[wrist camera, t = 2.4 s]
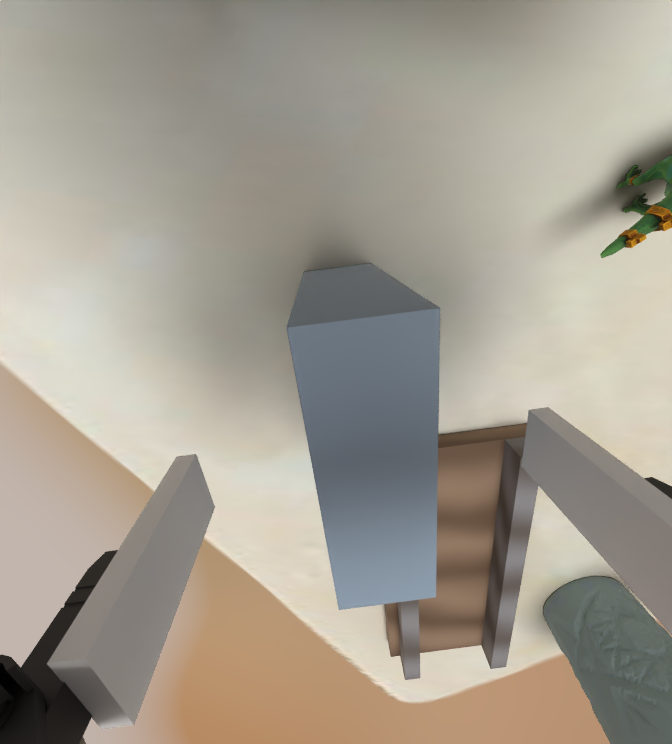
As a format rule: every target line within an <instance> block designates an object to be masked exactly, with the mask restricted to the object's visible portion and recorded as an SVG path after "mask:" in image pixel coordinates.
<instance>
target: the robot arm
mask: <svg viewBox="0 0 672 744" xmlns="http://www.w3.org/2000/svg"><path fill="white" fill-rule="evenodd" d="M522 467H523V468H524V470H525V471H526V472H527V473H528V474H529V475H530V476H531V477H532V479H533V480H534V481H535V482H536V483H537V484H538V485H539V486H540V488H541V489H542V490H543V491H544V492H545V493H546V494H547V495H548V497H549V498H550V499H551V500H552V501H553V502H554V503H555V504H556V506H557V507H558V508H559V509H560V510H561V511H562V512H563V513H564V515H565V516H566V517H567V518H568V519H569V520H570V521H571V522H572V524H573V525H574V526H575V527H576V528H577V529H578V530H579V531H580V533H581V534H582V535H583V536H584V537H585V538H586V539H587V540H588V542H589V543H590V544H591V545H592V546H593V547H594V548H595V549H596V551H597V552H598V553H599V554H600V555H601V556H602V557H603V558H604V560H605V561H606V562H607V563H608V564H609V565H610V566H611V567H612V569H613V570H614V571H615V572H616V573H617V574H618V575H619V576H620V578H621V579H622V580H623V581H624V582H625V583H626V584H627V585H628V587H629V588H630V589H631V590H632V591H633V592H634V593H635V594H636V596H637V597H638V598H639V599H640V600H641V601H642V602H643V603H644V605H645V606H646V607H647V608H648V609H649V610H650V611H651V612H652V614H653V615H654V616H655V617H656V618H657V619H658V620H659V621H660V623H661V624H662V625H663V626H664V627H665V628H666V629H667V630H668V632H669V633H670V634H671V635H672V486H670V485H667V484H665V483H663V482H661V481H659V480H657V479H655V478H653V477H650V478H643V477H641V476H640V475H639V474H637V473H636V472H634V471H633V470H632V469H630V468H629V467H628V466H626V465H625V464H624V463H622V462H621V461H620V460H618V459H617V458H616V457H614V456H613V455H612V454H610V453H609V452H608V451H606V450H605V449H604V448H602V447H601V446H600V445H598V444H597V443H595V442H594V441H593V440H591V439H590V438H589V437H587V436H586V435H585V434H583V433H582V432H581V431H579V430H578V429H577V428H575V427H574V426H573V425H571V424H570V423H569V422H567V421H566V420H565V419H563V418H562V417H560V416H559V415H558V414H556V413H555V412H554V411H552V410H551V409H550V408H548V407H547V408H540V409H532V410H529V413H528V421H527V428H526V436H525V443H524V451H523V458H522ZM214 508H215V506H214V503H213V500H212V498H211V495H210V492H209V489H208V486H207V483H206V481H205V478H204V475H203V472H202V469H201V466H200V464H199V461H198V458H197V455H196V454H194V455H186V456H179V457H176V459H175V460H174V462H173V463H172V465H171V467H170V468H169V470H168V471H167V473H166V475H165V476H164V478H163V479H162V481H161V482H160V484H159V486H158V487H157V489H156V490H155V492H154V494H153V495H152V497H151V498H150V500H149V502H148V503H147V505H146V507H145V508H144V510H143V511H142V513H141V514H140V516H139V518H138V519H137V521H136V522H135V524H134V526H133V527H132V529H131V530H130V532H129V534H128V535H127V537H126V538H125V540H124V542H123V543H122V545H121V546H120V548H119V550H116V551H108V552H105V554H103V555H102V556H101V557H100V558H99V559H98V560H97V561H96V562H95V563H94V564H93V565H92V566H91V567H90V568H89V569H88V570H87V572H86V573H85V575H84V576H83V577H82V579H81V580H80V582H79V583H78V585H77V586H76V590H75V591H74V592H72V593H71V595H70V596H69V598H68V599H67V601H66V602H65V606H64V608H61V610H60V611H59V613H58V614H57V615H56V617H55V618H54V620H53V621H52V623H51V624H50V626H49V628H48V629H47V630H46V632H45V633H44V635H43V636H42V637H41V639H40V640H39V642H38V644H37V645H36V646H35V648H34V649H33V651H32V652H31V654H30V655H29V657H28V658H27V659H26V661H25V662H24V664H23V665H22V667H21V668H20V667H19V665H18V664H17V663H16V662H15V661H14V660H13V659H12V658H11V657H9V656H5V655H0V744H86V743H85V741H84V738H83V734H84V732H85V730H86V728H87V726H88V724H89V721H90V719H91V717H92V718H93V720H94V721H95V722H96V723H97V724H98V726H99V727H100V728H101V729H108V728H116V727H123V726H130V725H134V724H135V721H136V719H137V716H138V713H139V710H140V708H141V705H142V702H143V700H144V697H145V694H146V691H147V689H148V686H149V684H150V681H151V678H152V675H153V673H154V670H155V667H156V665H157V662H158V659H159V657H160V654H161V651H162V648H163V646H164V643H165V640H166V638H167V635H168V632H169V630H170V627H171V624H172V621H173V618H174V616H175V613H176V611H177V608H178V605H179V603H180V600H181V597H182V595H183V592H184V589H185V586H186V584H187V581H188V578H189V576H190V573H191V570H192V568H193V565H194V562H195V559H196V556H197V554H198V551H199V548H200V546H201V543H202V541H203V538H204V535H205V532H206V530H207V527H208V524H209V522H210V519H211V516H212V514H213V511H214Z"/></svg>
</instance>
